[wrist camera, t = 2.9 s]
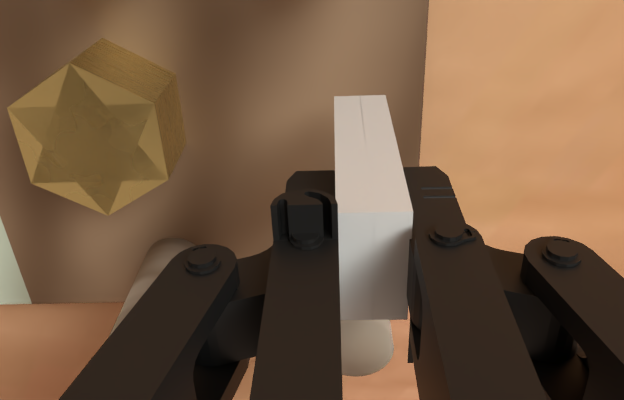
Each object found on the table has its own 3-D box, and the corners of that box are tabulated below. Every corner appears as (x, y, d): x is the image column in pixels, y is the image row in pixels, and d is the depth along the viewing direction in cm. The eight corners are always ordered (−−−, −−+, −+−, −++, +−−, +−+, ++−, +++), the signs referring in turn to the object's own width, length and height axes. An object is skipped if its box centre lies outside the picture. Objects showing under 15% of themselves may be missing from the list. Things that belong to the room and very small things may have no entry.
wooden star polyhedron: (74, 177, 21) (42, 217, 19) (36, 40, 19) (-7, 65, 16) (192, 174, 21) (174, 214, 19) (169, 35, 19) (145, 60, 16)
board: (-111, 289, 26) (-224, 400, 20) (-340, -159, 17) (-639, -169, 12) (407, 278, 25) (430, 391, 20) (433, -197, 16) (485, -226, 11)
